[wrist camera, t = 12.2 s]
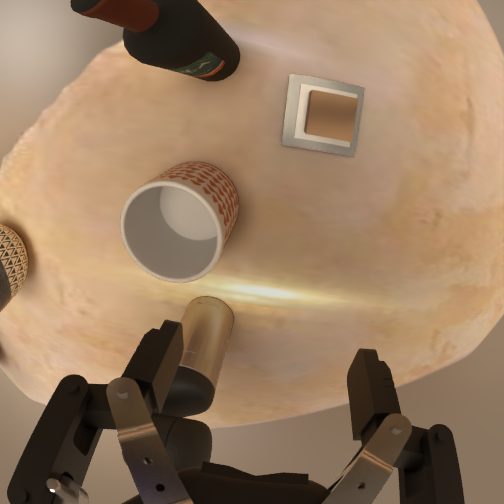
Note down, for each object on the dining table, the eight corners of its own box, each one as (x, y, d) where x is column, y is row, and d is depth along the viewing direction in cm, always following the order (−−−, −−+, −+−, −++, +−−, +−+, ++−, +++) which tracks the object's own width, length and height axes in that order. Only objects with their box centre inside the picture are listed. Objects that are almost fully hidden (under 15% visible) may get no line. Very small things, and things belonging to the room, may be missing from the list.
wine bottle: (250, 48, 35) (177, -50, 8) (222, 90, 38) (100, 67, 11) (206, 27, 33) (85, -61, 7) (179, 68, 37) (26, 37, 10)
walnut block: (343, 138, 34) (351, 142, 29) (303, 131, 34) (306, 134, 30) (349, 100, 31) (358, 98, 27) (308, 92, 32) (312, 89, 27)
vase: (142, 192, 47) (101, 220, 35) (205, 143, 42) (175, 157, 31) (190, 256, 51) (163, 298, 40) (256, 216, 46) (245, 254, 35)
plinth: (349, 154, 40) (358, 161, 35) (281, 142, 41) (280, 147, 35) (359, 89, 35) (370, 86, 30) (289, 76, 36) (290, 70, 31)
